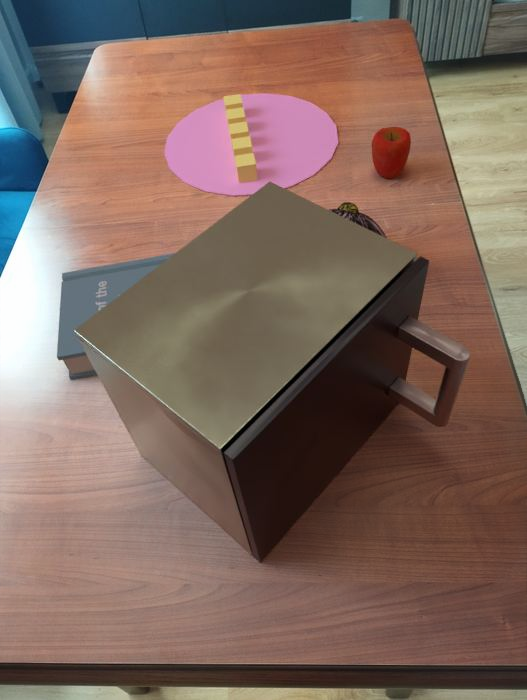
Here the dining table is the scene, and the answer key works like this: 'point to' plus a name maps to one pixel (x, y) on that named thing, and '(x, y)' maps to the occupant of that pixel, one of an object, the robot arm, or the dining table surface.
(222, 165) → the platter
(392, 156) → the apple
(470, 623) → the dining table surface
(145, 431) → the storage compartment
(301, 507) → the compartment door
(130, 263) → the book
